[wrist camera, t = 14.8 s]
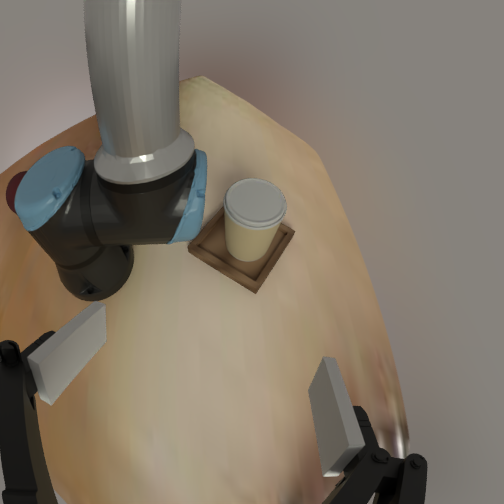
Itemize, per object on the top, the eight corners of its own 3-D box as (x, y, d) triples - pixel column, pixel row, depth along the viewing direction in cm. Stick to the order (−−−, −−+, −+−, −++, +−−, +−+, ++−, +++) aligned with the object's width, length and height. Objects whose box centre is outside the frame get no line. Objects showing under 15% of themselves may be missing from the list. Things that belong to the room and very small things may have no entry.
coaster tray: (188, 252, 49) (187, 246, 47) (231, 203, 56) (232, 196, 54) (255, 293, 46) (257, 289, 45) (292, 237, 53) (295, 231, 51)
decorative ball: (33, 187, 52) (18, 160, 43) (56, 194, 51) (40, 164, 43) (11, 218, 47) (-8, 192, 38) (33, 228, 46) (13, 200, 38)
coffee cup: (283, 246, 51) (300, 204, 40) (245, 276, 47) (255, 237, 36) (248, 214, 53) (256, 168, 43) (210, 239, 49) (210, 194, 39)
